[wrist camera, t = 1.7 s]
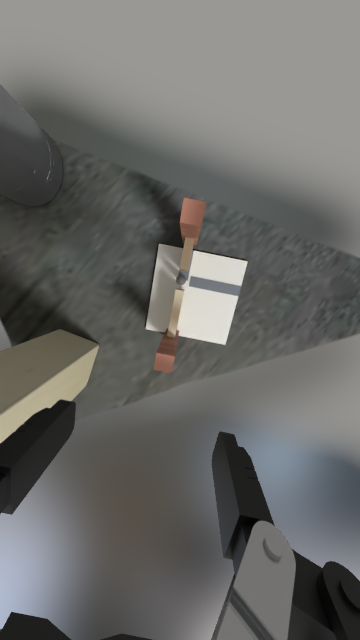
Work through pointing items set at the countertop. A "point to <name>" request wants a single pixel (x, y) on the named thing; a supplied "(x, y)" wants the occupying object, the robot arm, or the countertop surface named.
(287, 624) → the robot arm
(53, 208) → the countertop surface
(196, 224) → the brown piece
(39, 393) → the upright wooden block
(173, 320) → the toy gate half
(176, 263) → the card
